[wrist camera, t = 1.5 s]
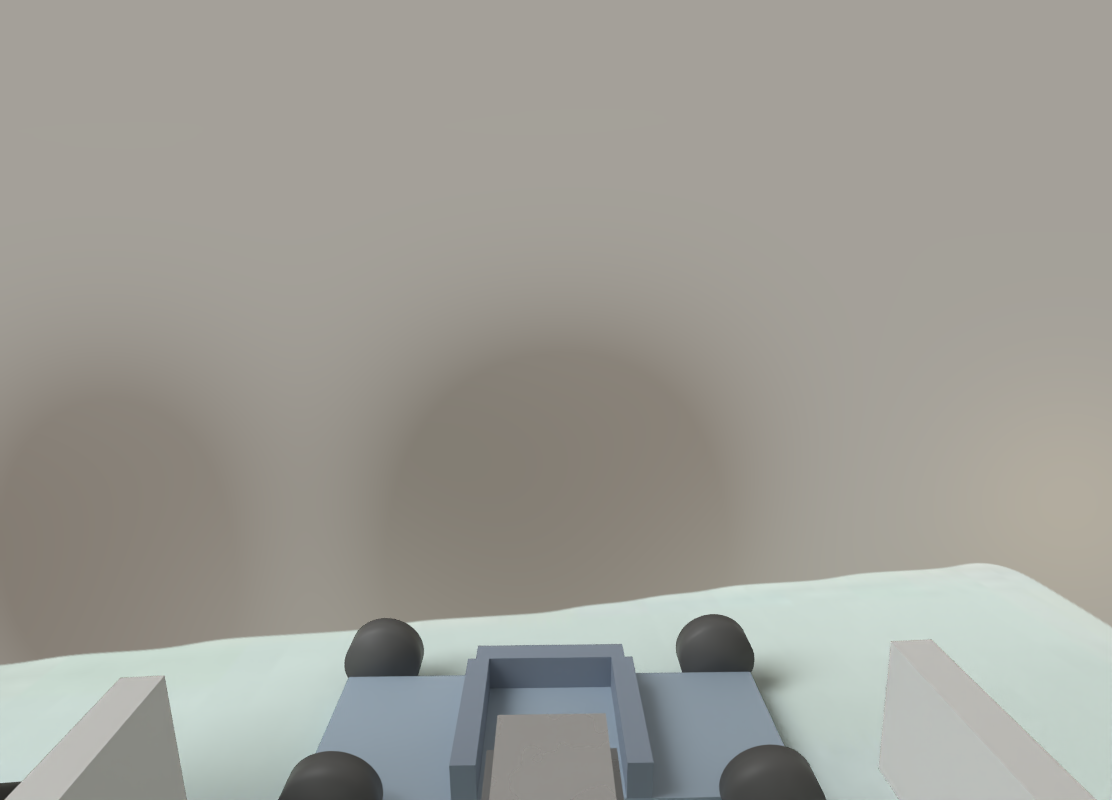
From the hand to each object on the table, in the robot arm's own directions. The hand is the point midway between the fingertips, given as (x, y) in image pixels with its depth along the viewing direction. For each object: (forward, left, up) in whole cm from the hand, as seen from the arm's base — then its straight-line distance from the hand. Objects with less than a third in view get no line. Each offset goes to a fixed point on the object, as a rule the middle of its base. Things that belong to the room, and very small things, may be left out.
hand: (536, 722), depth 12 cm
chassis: (0, +20, -19) cm, 27 cm away
